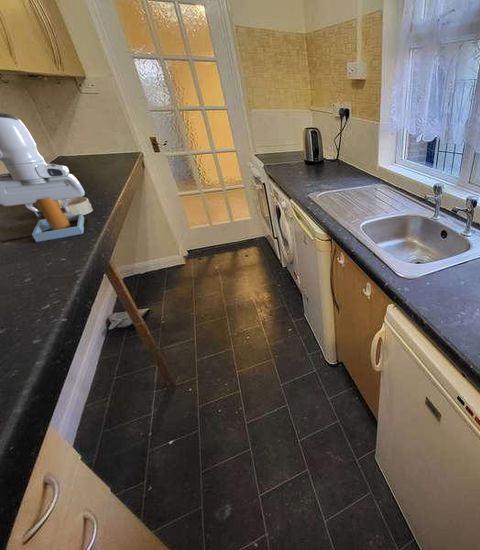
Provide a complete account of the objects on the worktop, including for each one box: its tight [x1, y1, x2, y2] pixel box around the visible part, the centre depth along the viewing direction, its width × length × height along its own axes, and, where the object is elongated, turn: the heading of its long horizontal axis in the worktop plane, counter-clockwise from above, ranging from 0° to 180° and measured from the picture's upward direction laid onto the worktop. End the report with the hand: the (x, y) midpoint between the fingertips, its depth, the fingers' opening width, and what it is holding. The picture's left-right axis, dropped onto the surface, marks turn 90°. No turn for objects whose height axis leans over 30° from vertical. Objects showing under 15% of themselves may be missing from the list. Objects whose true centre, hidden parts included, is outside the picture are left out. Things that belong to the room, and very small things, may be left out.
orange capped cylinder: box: [36, 198, 72, 231], centre depth 98 cm, size 5×5×15 cm
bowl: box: [57, 196, 94, 216], centre depth 114 cm, size 13×13×5 cm
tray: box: [31, 214, 85, 243], centre depth 102 cm, size 12×16×3 cm
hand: (54, 213), depth 99 cm, fingers closed on orange capped cylinder, 5 cm apart
